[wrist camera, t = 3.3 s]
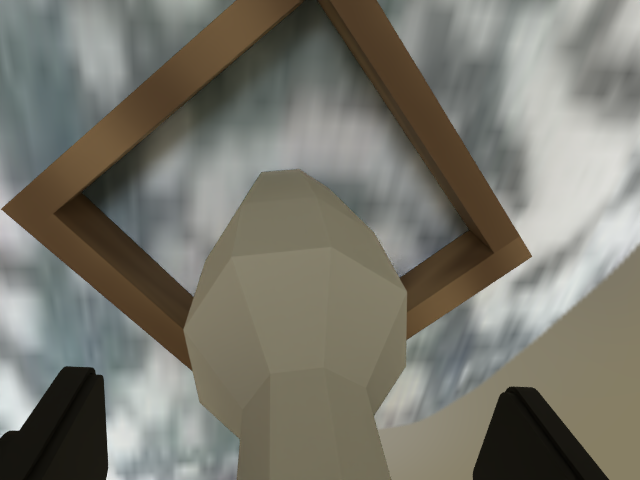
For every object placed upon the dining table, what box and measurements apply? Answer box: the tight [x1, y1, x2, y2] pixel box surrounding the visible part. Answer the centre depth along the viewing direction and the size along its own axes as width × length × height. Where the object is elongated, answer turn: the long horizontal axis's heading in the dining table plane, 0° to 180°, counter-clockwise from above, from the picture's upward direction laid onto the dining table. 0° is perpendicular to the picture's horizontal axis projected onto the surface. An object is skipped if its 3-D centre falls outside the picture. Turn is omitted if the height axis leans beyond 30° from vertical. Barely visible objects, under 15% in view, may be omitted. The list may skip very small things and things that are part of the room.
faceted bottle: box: [183, 169, 407, 480], centre depth 12 cm, size 6×6×22 cm
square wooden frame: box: [1, 0, 532, 371], centre depth 21 cm, size 17×17×3 cm
